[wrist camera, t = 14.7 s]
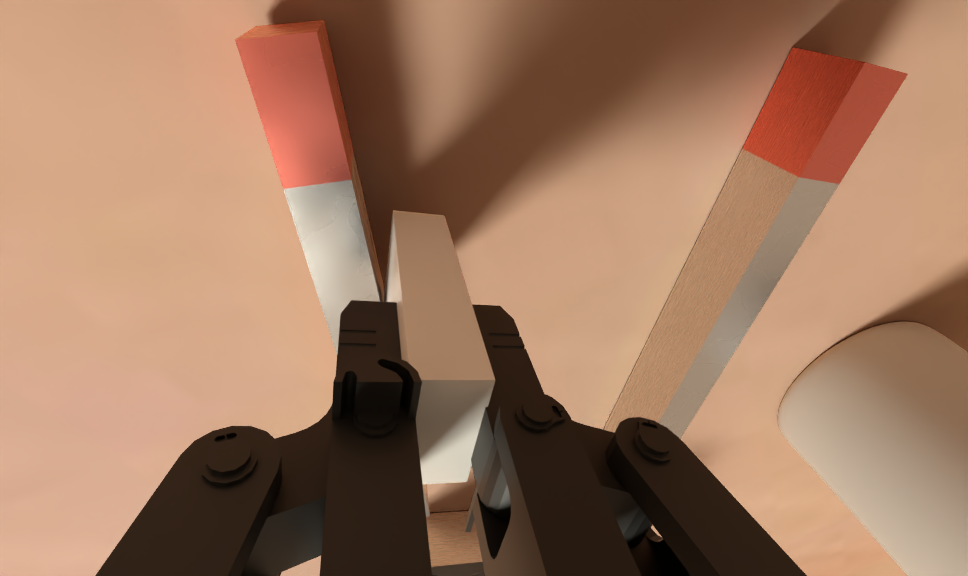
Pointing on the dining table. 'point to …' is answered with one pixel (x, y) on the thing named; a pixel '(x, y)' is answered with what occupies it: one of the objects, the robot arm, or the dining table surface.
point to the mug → (891, 439)
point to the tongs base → (734, 251)
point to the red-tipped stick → (315, 161)
